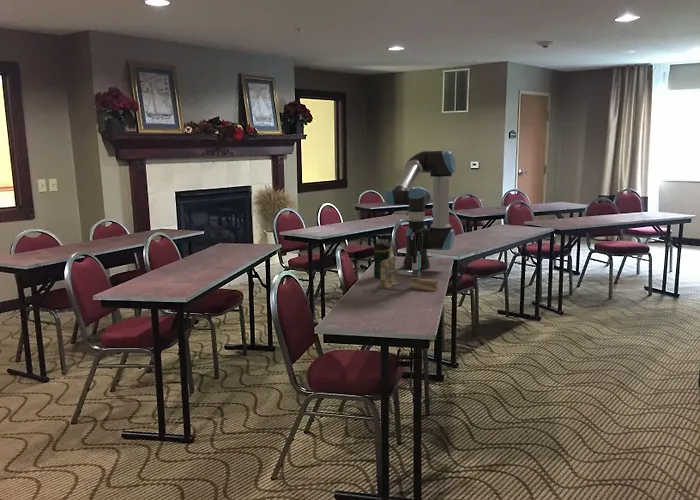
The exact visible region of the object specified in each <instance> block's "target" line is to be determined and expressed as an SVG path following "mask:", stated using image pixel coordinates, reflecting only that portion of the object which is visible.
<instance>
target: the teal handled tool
mask: <svg viewBox="0 0 700 500" xmlns="http://www.w3.org/2000/svg"><path fill="white" fill-rule="evenodd" d="M417 256H418V270H413V269H412V270H402V269H395V270H393V269H388V274H395V275H400V276H411V278H418V279H420V277H421V269H420V251H417Z"/></svg>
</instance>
